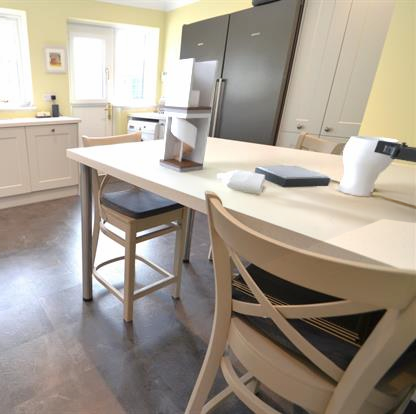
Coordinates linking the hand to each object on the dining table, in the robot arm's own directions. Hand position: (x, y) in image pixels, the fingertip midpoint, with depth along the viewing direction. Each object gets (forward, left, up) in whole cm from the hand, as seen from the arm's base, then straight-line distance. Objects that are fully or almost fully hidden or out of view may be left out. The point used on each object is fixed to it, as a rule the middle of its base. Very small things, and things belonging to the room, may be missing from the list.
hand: (407, 147), depth 66 cm
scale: (+8, -23, -14) cm, 28 cm away
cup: (-2, -10, -15) cm, 18 cm away
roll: (+31, -15, -15) cm, 37 cm away
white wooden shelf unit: (+37, -42, -15) cm, 58 cm away
